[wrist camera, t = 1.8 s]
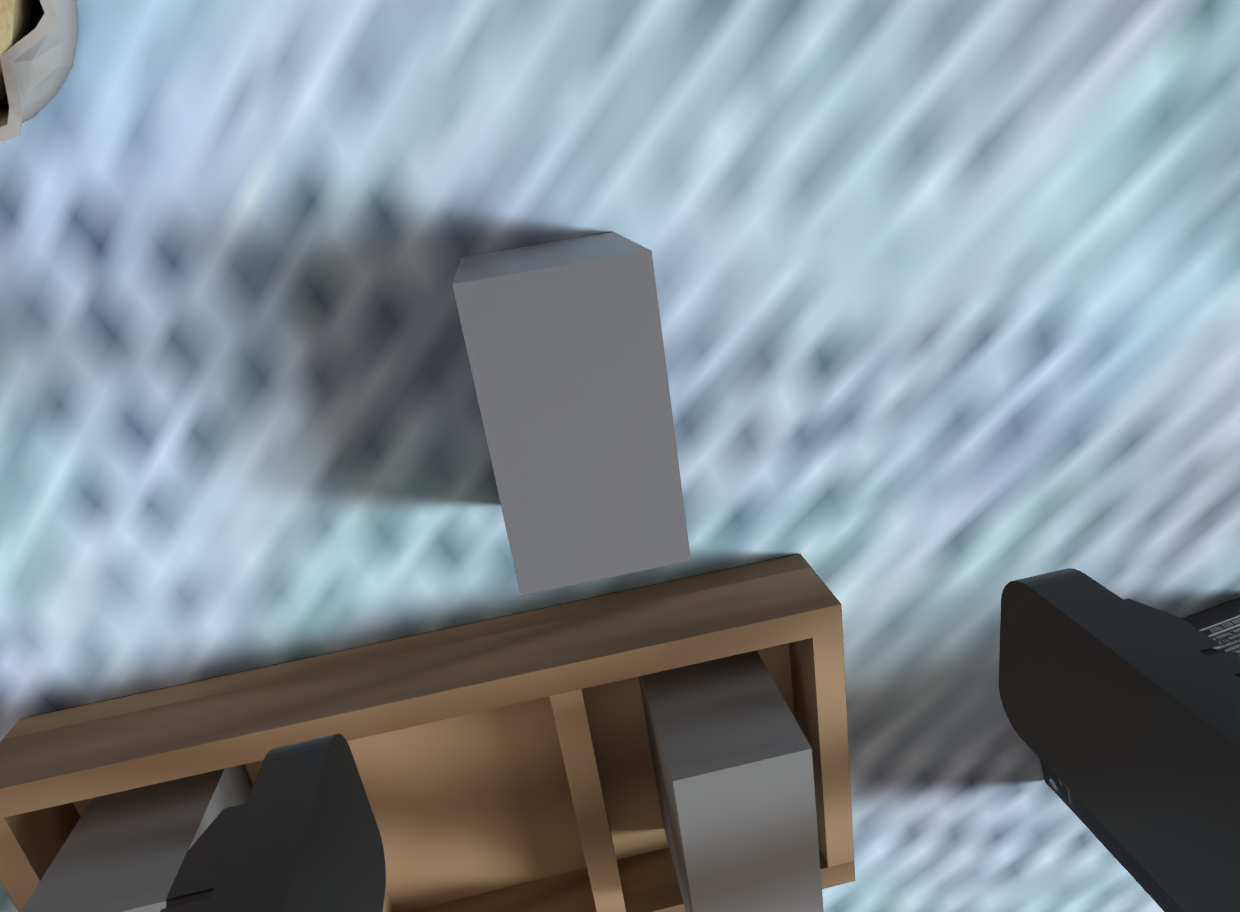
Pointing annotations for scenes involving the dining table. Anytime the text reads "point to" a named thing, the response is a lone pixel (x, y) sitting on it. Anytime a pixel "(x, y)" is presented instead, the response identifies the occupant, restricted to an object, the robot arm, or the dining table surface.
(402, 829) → the rack
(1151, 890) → the small box
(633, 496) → the block
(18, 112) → the cupcake
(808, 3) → the dining table surface
